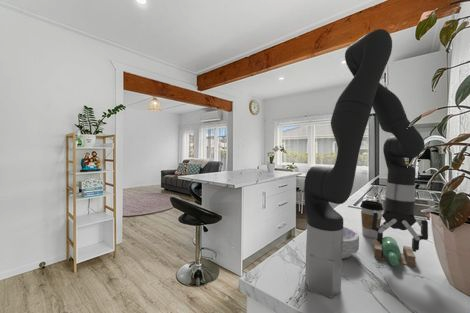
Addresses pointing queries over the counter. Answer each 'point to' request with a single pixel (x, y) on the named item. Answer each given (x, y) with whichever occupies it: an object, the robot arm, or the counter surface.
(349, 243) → the paper bowls
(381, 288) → the counter surface
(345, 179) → the robot arm
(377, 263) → the counter surface
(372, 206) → the coffee cup
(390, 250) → the bottle
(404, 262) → the cradle
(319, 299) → the counter surface
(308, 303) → the counter surface
